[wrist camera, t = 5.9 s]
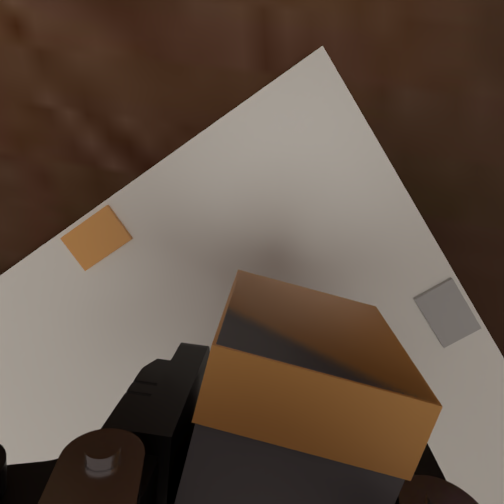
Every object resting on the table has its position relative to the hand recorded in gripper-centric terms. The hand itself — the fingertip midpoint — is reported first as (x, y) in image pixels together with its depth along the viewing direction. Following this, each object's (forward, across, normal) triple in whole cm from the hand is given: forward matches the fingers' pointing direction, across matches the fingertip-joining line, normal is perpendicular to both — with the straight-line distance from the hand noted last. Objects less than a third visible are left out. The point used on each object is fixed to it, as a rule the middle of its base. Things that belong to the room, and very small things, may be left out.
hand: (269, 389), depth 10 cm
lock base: (+8, +1, +6) cm, 10 cm away
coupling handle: (+1, 0, +2) cm, 3 cm away
